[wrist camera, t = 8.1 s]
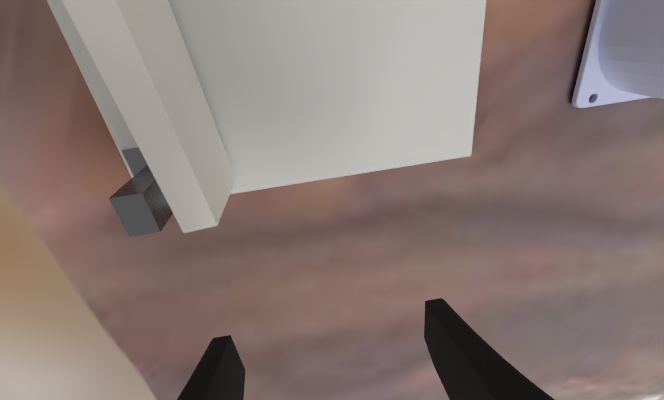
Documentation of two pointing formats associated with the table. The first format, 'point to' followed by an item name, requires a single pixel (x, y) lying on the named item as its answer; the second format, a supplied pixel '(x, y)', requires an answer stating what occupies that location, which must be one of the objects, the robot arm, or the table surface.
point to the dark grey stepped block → (140, 198)
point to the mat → (322, 83)
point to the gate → (159, 102)
